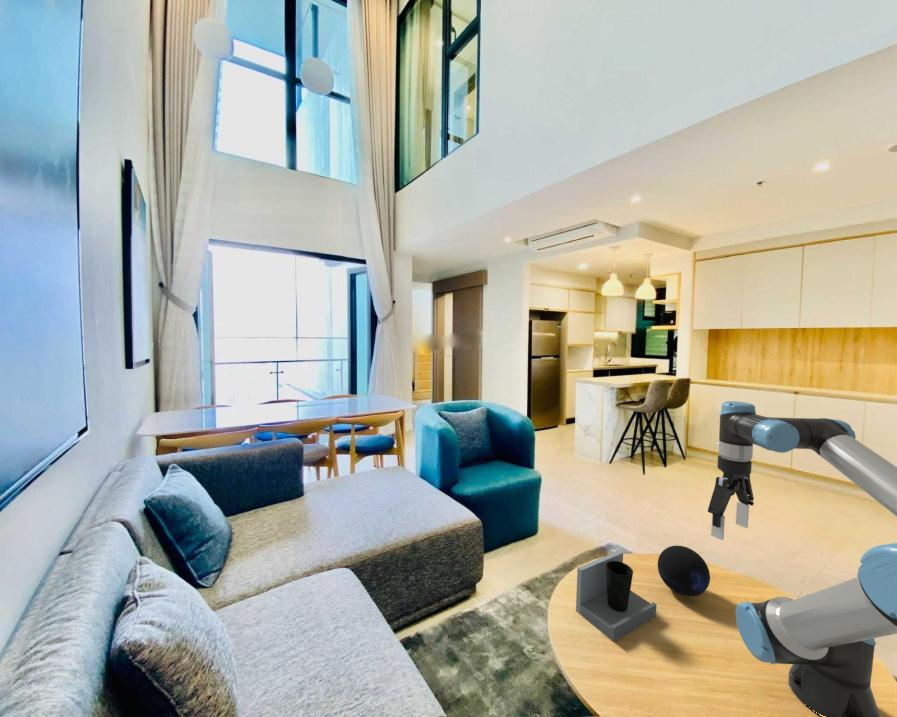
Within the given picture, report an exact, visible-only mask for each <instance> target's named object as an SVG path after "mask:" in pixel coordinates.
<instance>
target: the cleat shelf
mask: <svg viewBox="0 0 897 717" xmlns="http://www.w3.org/2000/svg"><path fill="white" fill-rule="evenodd" d="M609 561H619V562H622V563H624V562H623V561H624V552H622V551H621V550H617V551H615V552H612V553H610V554H608V555H605V556H603V557H600V558H598V559H596V560H593V561H591V562H589V563H588V562H587V563H586V564H583V565H581V566H579V567H577V574H576V594H575V596H576V599H575V601H576V602H575V611H576V612H577V613H578V614H579V615H580V616H582V618H584V619H585V620H587V621H588V622H589V623H590V624H591V625H592V626H594V627H595V628H596V629H597V630H599V632H601V633H602V634H603V635H604V636H606V637H607V638H609V640H611V641H612V642H615V641H617V640H619V639H620V638H622V637H624V636H625V635H627V634H628V633H631V632H632V631H634V630H636V629H637V628H640V627H641V626H642V624H643V625H644V624H646V623H648V622H649V621H651V620H653V619H655V618H656V617H657V603H655V602H654V601H653V602H649V601H648V600H646V599H644V598H643V597H642V596H640V595H639V594H637V593H635V592H634V591H632V590H631V589H630V595H629V601H628V607H627V610H626V611H625V612H618V611H615V610H613V609H612V608H610V607H609V605H608V601H607V581H606V563H607V562H609ZM647 621H648V622H647ZM645 622H646V623H645ZM640 625H641V626H640Z"/></svg>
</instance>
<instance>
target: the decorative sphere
mask: <svg viewBox="0 0 897 717" xmlns="http://www.w3.org/2000/svg"><path fill="white" fill-rule="evenodd" d="M657 570H658V574H659V576H660V579H661V580H662V582H664V584H665V585H666V586H667V587H668V589H670V590H671V591H673V592H674V593H676V594H678V595H681V596H684V597H697V596H700V595H702V594H703V593H704V592H705V591H707V589H708V587H709V586H710V583H711V574H710V570H709V567H708V564H707V563H706V561H705V559H703V557H702V556H701V555H700V554H699V553H697V552H696V551H695V550H693V549H692V548H690V547H687V546H683V545H672V546H668V547H666V548H664V549H663V550H662V551H661V553H660V554H659V556H658V559H657Z"/></svg>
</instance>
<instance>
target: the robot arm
mask: <svg viewBox="0 0 897 717" xmlns="http://www.w3.org/2000/svg"><path fill="white" fill-rule="evenodd" d="M756 413H757V412H756V406H755V405H754V404H753V403H749V402H744V401H735V400H734V401H733V400H731V401H729V400H728V401H724V402H722V403H721V409H720V414H719V432H718V433H719V434H718V435H719V436H718V439H719V440H718V442H717V445H718V452H717V453H718V456H717V465H716V466H717V469H718V470H720V471H721V472H722V473H723V474H722V477H720V476H716V478H715V483H714V488H713V491H712V495H711V497H710V501H709V504H708V507H707V512H708V513H709V514H711V530H710V531H711V532H710V536H711V537H714V538H716V539H719V540H721V541H724V540H725V539H724V537H725V536H724V535H725V522H726V515H724V514H725V512H726V510H727V507H728V505H729V502H730V501H731V497H732V496H734V495H736V497H737V500H738V501H737V502H736V511H735V512H736V513H735V515H736V516H735V525H737V526H740V527H743V528H745V529H747V528H749V515H750V514H749V513H750V506H752V507H753V506H754V504H755V502H754V499H755V498H754V494H753V488H752V483H751V473H752V464H753V463H752V459H753V453H754V452H753V450H754V445H755V446H758V447H761V448H762V449H764V450H766V451H772V452H775V453H779V454H783V453H784V454H785V453H788V452H790V451H792V450H794V449H795V450H797V449H799V450H812V451H813V452H814V453H816V454H817V455H818V456H820V457H821V458H822V459H824V461H826V462H827V463H828V464H829V465H831V466H832V467H833V468H835V470H837V471H838V472H840V473H841V474H842V475H843V476H845V477H846V478H847V479H849V480H850V481H852V483H853V484H855V485H856V486H857V487H859V488H860V489H861V490H862V491H864V492H865V493H867V495H869V496H870V497H871V498H873V499H874V500H875V501H876V502H878V503H879V504H880V505H881V506H883V507H884V508H885V509H887V510H888V511H889V512H890V513H891V514H892V515H894V516H895V517H897V466H896V465H895V464H893V463H891V462H890V461H889V460H887V459H886V458H884V457H883V456H881V455H879V454H878V453H877V452H875V451H874V450H872V449H871V448H870V447H867V446H866V445H865V444H863V443H862V442H860V441H859V440H857V439H856V437H857V436H856V433H855V431H854V430H853V428H852V426H851V425H850V424H849V423H848V422H845V421H843V420H841V419H835V418H834V419H833V418H832V419H831V418H826V417H823V418H821V417H819V418H813V417H812V418H810V417H809V418H807V417H805V418H803V417H801V418H800V417H799V418H796V417H772V416H771V417H770V416H763V415H760V414H756ZM859 562H860V563H861V564H860V565H859V567H858V570H857V572H856V573H857V574H856V575H857V576H856V577H854V578H851V579H848V580H846V581H844V582H841V583H837V584H834V585H832V586H829V587H825V588H823V589H820V590H818V591H815V592H812V593H808V594H806V595H804V596H801V597H799V598H795V599H793V598H791V597H786V596H776V597H773V598H770V599H768V600H765V601H761V602H750V601H746V602H740V603H738V604H737V606H736V608H735V622H736V625H737V630H738V632H739V635H740V637H741V639H742V641H743V643H744V645H745V647H746V648H747V650H748V651H749V652H750V653H751V655H752V656H753V657H754V658H755V659H756V660H758V661H760V662H762V663H768V664H772V665H775V664H778V665H779V664H780V665H791V666H790V668H789V670H788V678H787V679H788V680H787V681H788V685H789V687H790V689H791V692H793V694H794V695H795V696H796V698H799V699H800V700H801V701H802V702H803V703H804V704H803V703H802V702H801V701H800V700H799V699H798V700H799V701H800V702H801V703H802V704H803V705H805V704H806V705H807V706H808V707H810V708H811V709H812V710H814V711H815V712H817V713H819V714H821V715H823V716H826V717H881V716H880V711H879V708H878V705H877V702H876V700H875V697H874V693H873V691H872V687H871V684H872V683H871V682H872V672H873V666H874V665H873V663H874V656H875V655H874V654H875V646H876V641H875V639H877V638H881V637H887V636H892V635H896V634H897V542H893V543H887V544H879V545H876V546H873V547H871V548H870V549H867V551H865V552H864V554H863V555H862V556H861V558H860V560H859ZM806 705H805V706H806ZM807 706H806V707H807ZM808 707H807V708H808ZM811 709H810V710H811ZM812 710H811V711H812ZM815 712H814V713H815Z"/></svg>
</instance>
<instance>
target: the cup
mask: <svg viewBox="0 0 897 717" xmlns="http://www.w3.org/2000/svg"><path fill="white" fill-rule="evenodd" d="M633 575H634V570H633V568H632V567H631V566H629V565H628V564H626V563H625V562H623V563H622V562H619V561H609V562H607V563H606V581H607V601H608V605H609V607H610V608H612V609H613V610H615V611H618V612H625V611H626V610H627V607H628V601H629V595H630V590H631V588H632V583H633V582H632V581H633Z"/></svg>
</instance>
